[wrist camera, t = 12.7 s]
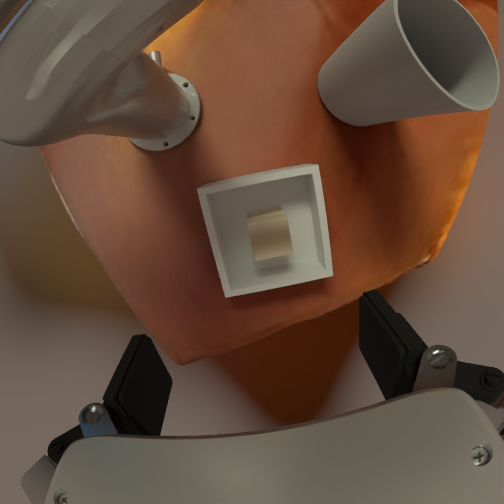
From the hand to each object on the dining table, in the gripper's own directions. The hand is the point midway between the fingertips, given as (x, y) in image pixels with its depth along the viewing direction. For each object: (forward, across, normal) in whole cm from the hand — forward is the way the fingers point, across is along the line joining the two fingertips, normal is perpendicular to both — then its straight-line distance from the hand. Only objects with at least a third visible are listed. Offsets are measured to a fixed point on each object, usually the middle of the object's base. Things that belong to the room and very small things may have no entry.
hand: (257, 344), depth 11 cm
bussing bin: (+32, -2, +4) cm, 32 cm away
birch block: (+31, -2, +4) cm, 31 cm away
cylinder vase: (+32, -20, -15) cm, 41 cm away
